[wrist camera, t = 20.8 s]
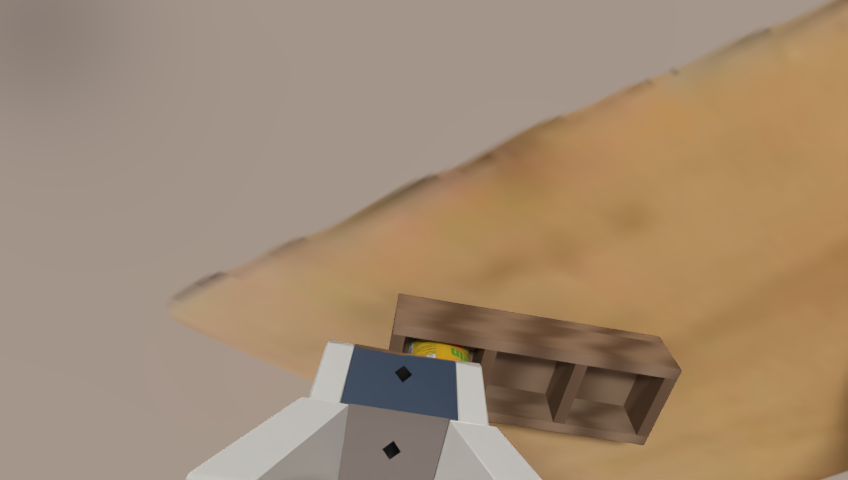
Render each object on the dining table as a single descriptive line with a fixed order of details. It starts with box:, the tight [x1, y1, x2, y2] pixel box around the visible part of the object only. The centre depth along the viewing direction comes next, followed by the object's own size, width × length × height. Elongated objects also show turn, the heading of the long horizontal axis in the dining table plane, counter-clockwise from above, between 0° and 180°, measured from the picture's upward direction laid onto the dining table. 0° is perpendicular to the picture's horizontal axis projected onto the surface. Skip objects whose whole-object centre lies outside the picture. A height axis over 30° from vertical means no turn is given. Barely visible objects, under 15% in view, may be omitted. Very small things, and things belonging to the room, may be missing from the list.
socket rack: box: [389, 294, 682, 445], centre depth 43 cm, size 24×9×5 cm, turn 80°
